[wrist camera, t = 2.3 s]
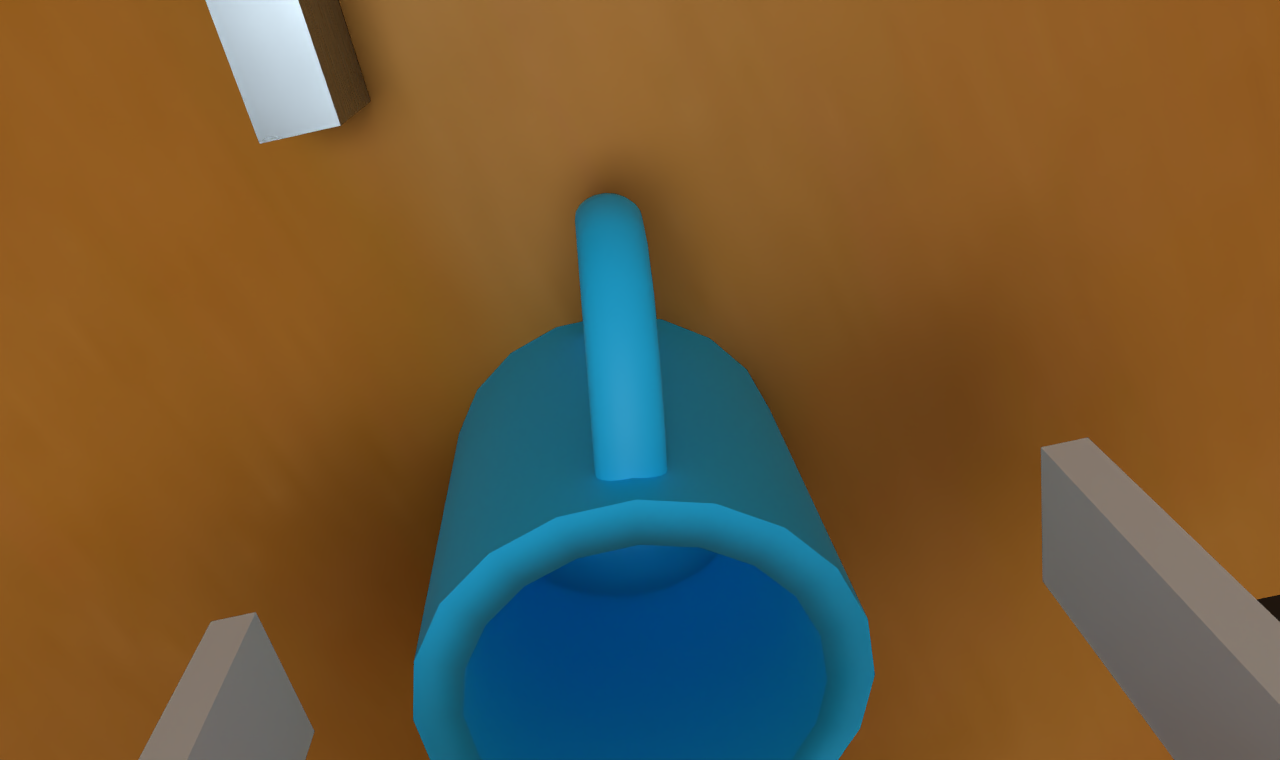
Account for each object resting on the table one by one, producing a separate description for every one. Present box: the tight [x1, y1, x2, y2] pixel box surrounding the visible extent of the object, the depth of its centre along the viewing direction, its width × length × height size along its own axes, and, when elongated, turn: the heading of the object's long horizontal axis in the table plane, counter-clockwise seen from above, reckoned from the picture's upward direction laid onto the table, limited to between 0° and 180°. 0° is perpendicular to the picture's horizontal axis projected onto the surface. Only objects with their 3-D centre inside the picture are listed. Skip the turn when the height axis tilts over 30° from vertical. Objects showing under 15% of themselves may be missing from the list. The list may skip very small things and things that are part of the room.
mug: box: [413, 193, 875, 760], centre depth 19 cm, size 12×8×8 cm
